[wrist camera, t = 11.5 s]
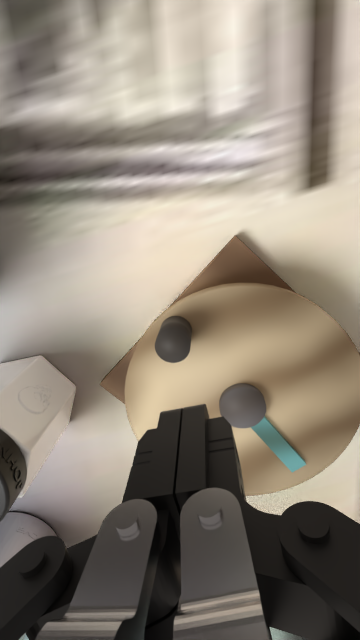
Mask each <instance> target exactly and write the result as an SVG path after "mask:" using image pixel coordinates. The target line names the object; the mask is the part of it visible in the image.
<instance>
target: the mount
mask: <svg viewBox="0 0 360 640" xmlns="http://www.w3.org/2000/svg"><path fill="white" fill-rule="evenodd" d="M231 283H260V284H267V285H273V286H276V287H280V288H283V289H287V290H290V291H292V292H294V293H296V292H295V291H294V290H292V289H291V288H290V287H289V286H288V285H287V284H286V283H285V282H284V281H283V280H282V279H281V278H280V277H279V276H278V275H277V274H276V273H274V272H273V271H272V270H271V269H270V268H269V267H268V266H267V265H266V264H265V263H264V262H263V261H262V260H261V259H260V258H259V257H258V256H256V255H255V254H254V253H253V252H252V251H251V250H250V249H249V248H248V247H247V246H246V245H245V244H244V243H243V242H242V241H241V240H239V239H238V238H237V237H236V236H234V237H233V238H232V239H231V240H230V241H229V242H228V244H227V245H226V246H225V247H224V248H223V249H222V250H221V251H220V252H219V253H218V254H217V256H216V257H215V258H214V259H213V260H212V261H211V262H210V263H209V264H208V265H207V266H206V268H205V269H204V270H203V271H202V272H201V273H200V274H199V275H198V276H197V277H196V278H195V280H194V281H193V282H192V283H191V284H190V285H189V286H188V287H187V288H186V289H185V290H184V292H183V293H182V294H181V295H180V296H179V297H178V298H177V299H176V300H175V301H174V302H173V304H175V303H176V302H178V301H179V300H181V299H183V298H185V297H187V296H189V295H191V294H193V293H196V292H198V291H201V290H203V289H206V288H210V287H214V286H218V285H222V284H231ZM173 304H172V305H173ZM172 305H171V306H172ZM171 306H170V307H171ZM142 337H143V336H142ZM142 337H141V338H142ZM141 338H140V339H139V341H138V342H137V343H136V344H135V345H134V346H133V347H132V348H131V349H130V350H129V351H128V353H127V354H126V355H125V356H124V357H123V358H122V359H121V360H120V361H119V362H118V363H117V365H116V366H115V367H114V368H113V369H112V370H111V371H110V372H109V373H108V374H107V375H106V377H105V378H104V379H103V380H102V382H101V383H100V385H101V386H102V387H103V388H105V389H106V390H107V391H109V392H110V393H111V394H112V395H114V396H115V397H116V398H118V399H119V400H120V401H122V402H123V403H124V404H125V381H126V375H127V371H128V367H129V364H130V361H131V359H132V356H133V354H134V352H135V349H136V347H137V345H138V343H139V342H140V340H141ZM358 353H359V352H358ZM359 356H360V353H359Z"/></svg>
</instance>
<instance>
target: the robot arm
mask: <svg viewBox="0 0 360 640" xmlns="http://www.w3.org/2000/svg"><path fill="white" fill-rule="evenodd" d="M135 455H136V456H134V460H133V466H132V467H131V471H130V475H129V479H128V482H127V486H126V490H125V493H124V497H123V501H122V504H120V505H118V506H117V507H115V508H114V509H113V510H112V511H111V512H110V513H109V514H108V515H107V516H106V518H105V519H104V521H103V523H102V525H101V527H100V530H99V532H98V534H97V535H96V536H94V537H92V538H90V539H87V540H85V541H83V542H81V543H78V544H76V545H74V546H72V547H69V548H67V549H66V546H65V544H64V542H63V541H62V540H61V539H60V538H59V537H57V535H56V534H55V532H54V531H53V530H52V529H51V528H50V526H48V525H47V524H46V523H45V522H43V521H42V520H40V519H38V518H36V517H34V516H31V515H28V514H24V513H17V512H9V513H7V514H6V516H5V517H4V518H3V520H2V521H1V522H0V640H23V639H24V636H25V634H26V635H27V637H28V638H29V640H272V636H271V632H270V627H272V628H276V629H279V630H282V631H285V632H288V633H292V634H295V635H298V636H301V637H302V639H303V640H360V524H359V523H357V522H355V521H354V520H352V519H351V518H349V517H347V516H346V515H344V514H343V513H341V512H339V511H338V510H336V509H335V508H333V507H331V506H329V505H326V504H324V503H320V502H314V501H305V502H299V503H296V504H294V505H292V506H290V507H289V508H287V509H286V510H285V511H284V512H283V514H282V515H281V516H280V515H274V514H269V513H264V512H261V511H259V510H257V509H255V508H253V507H252V506H251V505H249V504H248V503H247V502H246V497H245V491H244V484H243V478H242V471H241V465H240V460H239V456H238V452H237V447H236V443H235V439H234V435H233V431H232V426H231V424H230V423H229V422H228V421H227V420H226V419H225V418H224V416H223V417H217V418H211V419H210V418H209V414H208V410H207V407H206V404H200V405H195V406H189V407H184V408H179V409H173V410H168V411H162V412H160V416H159V421H158V426H157V428H155V429H149V430H147V431H146V432H145V434H144V435H143V436H142V438H141V439H140V440H139V442H138V445H137V449H136V453H135Z"/></svg>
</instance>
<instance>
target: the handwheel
mask: <svg viewBox="0 0 360 640" xmlns="http://www.w3.org/2000/svg"><path fill="white" fill-rule="evenodd" d="M200 404H206V407H207V410H208V414H209V418H210V419H211V418H217V417H223V416H224V418H225V419H226V420H227V421H228V422H229V423H230V424H231V426H232V431H233V435H234V439H235V443H236V447H237V452H238V456H239V460H240V465H241V471H242V478H243V484H244V491H245V496H251V495H262V494H269V493H273V492H277V491H281V490H285V489H288V488H291V487H293V486H296V485H298V484H301V483H303V482H305V481H307V480H309V479H311V478H312V477H314V476H315V475H317V474H318V473H320V472H322V471H323V470H324V469H325V468H327V467H328V466H329V465H330V464H331V463H333V462H334V461H335V460H336V459H337V458H338V457H339V455H340V454H341V453H342V452H343V451H344V450H345V448H346V447H347V446H348V444H349V443H350V442H351V440H352V438H353V436H354V435H355V433H356V431H357V429H358V427H359V424H360V356H359V353H358V351H357V349H356V347H355V345H354V343H353V342H352V340H351V339H350V337H349V336H348V334H347V333H346V332H345V330H344V329H343V328H342V327H341V326H340V325H339V324H338V323H337V322H336V321H335V320H334V319H333V318H332V317H331V316H330V315H329V314H327V313H326V312H325V311H324V310H323V309H321V308H320V307H319V306H318V305H317V304H315V303H313V302H312V301H310V300H308V299H307V298H305V297H303V296H301V295H299V294H297V293H294V292H292V291H290V290H287V289H283V288H280V287H276V286H273V285H267V284H260V283H231V284H222V285H218V286H214V287H210V288H206V289H203V290H201V291H198V292H196V293H193V294H191V295H189V296H187V297H185V298H183V299H181V300H179V301H178V302H176V303H175V304H173V305H172V306H171V307H169V308H168V309H166V310H165V311H164V312H163V313H162V314H161V315H160V316H159V317H158V318H157V319H156V320H154V322H153V323H152V324H151V325H150V327H149V328H148V329H147V330H146V332H145V333H144V335H143V337H142V338H141V340H140V342H139V343H138V345H137V347H136V349H135V352H134V354H133V356H132V359H131V361H130V364H129V367H128V371H127V375H126V381H125V406H126V411H127V416H128V419H129V422H130V425H131V428H132V430H133V432H134V434H135V436H136V438H137V440H138V442H139V440H140V439H141V438H142V436H143V435H144V434H145V432H146V431H147V430H149V429H155V428H157V426H158V421H159V416H160V412H162V411H168V410H173V409H179V408H184V407H189V406H195V405H200Z"/></svg>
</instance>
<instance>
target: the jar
mask: <svg viewBox="0 0 360 640" xmlns="http://www.w3.org/2000/svg"><path fill="white" fill-rule="evenodd" d="M75 392H76V386H75V385H74V384H73V383H72V382H71V381H70V380H69V379H68V378H66V377H65V376H64V375H63V374H62V373H61V372H60V371H59V370H57V369H56V368H55V367H54V366H53V365H52V364H51V363H50V362H48V361H47V360H46V359H45V358H44V357H43V356H41V355H39V356H34V357H29V358H24V359H19V360H15V361H10V362H5V363H0V522H1V521H2V520H3V518H4V517H5V516H6V514H7V513H8V511H9V509H10V508H11V506H12V505H13V503H14V502H15V500H16V499H17V498H21V497H23V496H24V494H25V493H26V491H27V489H28V488H29V486H30V485H31V483H32V482H33V480H34V478H35V477H36V475H37V474H38V472H39V470H40V469H41V467H42V466H43V464H44V462H45V461H46V459H47V458H48V456H49V454H50V453H51V451H52V450H53V448H54V446H55V445H56V443H57V442H58V440H59V438H60V437H61V435H62V434H63V432H64V430H65V429H66V427H67V426H68V424H69V420H70V416H71V411H72V406H73V402H74V397H75Z"/></svg>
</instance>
